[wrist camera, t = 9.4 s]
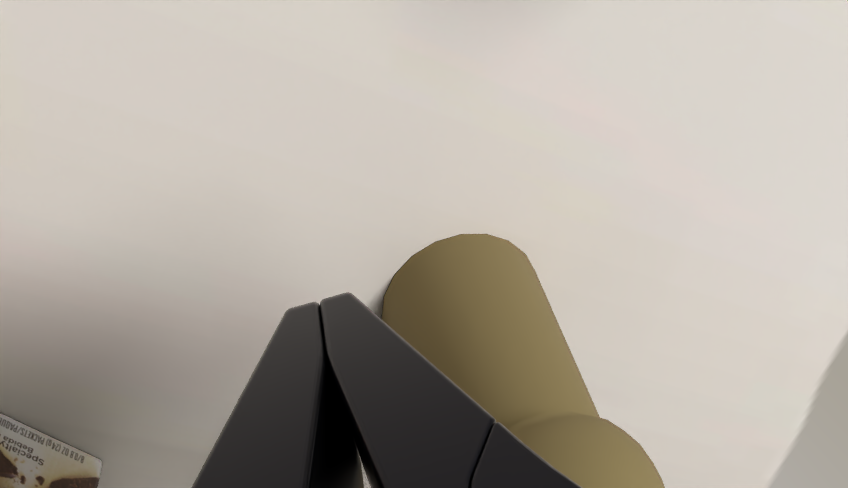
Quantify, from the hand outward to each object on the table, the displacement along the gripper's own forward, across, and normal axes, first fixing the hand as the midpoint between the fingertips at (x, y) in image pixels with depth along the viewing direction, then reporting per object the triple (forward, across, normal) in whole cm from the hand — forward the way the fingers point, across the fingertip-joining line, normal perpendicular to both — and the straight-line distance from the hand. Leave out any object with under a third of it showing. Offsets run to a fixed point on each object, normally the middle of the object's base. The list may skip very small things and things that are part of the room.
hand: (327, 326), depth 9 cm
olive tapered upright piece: (+12, -4, +10) cm, 16 cm away
